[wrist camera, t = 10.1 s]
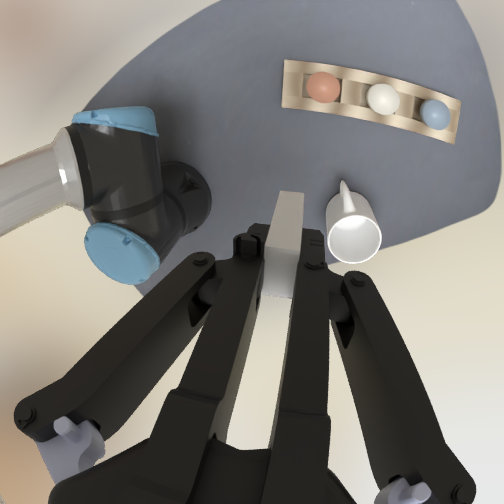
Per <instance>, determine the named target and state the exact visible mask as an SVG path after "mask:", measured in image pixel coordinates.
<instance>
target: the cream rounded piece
mask: <svg viewBox="0 0 504 504" xmlns="http://www.w3.org/2000/svg"><path fill="white" fill-rule="evenodd" d="M366 100H367V103H368V105H369V107H370V108H371V109H372V110H373V111H375V112H377V113H379V114H382V115H390V114H393V113H394V112H396V111H397V109H398V108H399V105H400V98H399V95H398V93H397V91H396V90H395V89H394V88H393V87H392V86H390V85H387V84H375V85H373V86H371V87H370V88H369V89H368V91H367V94H366Z"/></svg>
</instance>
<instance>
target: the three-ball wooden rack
mask: <svg viewBox="0 0 504 504" xmlns="http://www.w3.org/2000/svg"><path fill="white" fill-rule="evenodd" d="M317 72H327V73H330V74H332V75H333V76H335V77H336V79H337V80H338V82H339V84H340V93H339V96H338V97H337V98H336V99H335V100H334V101H332V102H330V103H319V102H317V101H315V100H313V99H312V98H311V97H310V96H309V94H308V92H307V88H306V85H307V81H308V79H309V77H310V76H311V75H313V74H314V73H317ZM375 84H387V85H390V86H392V87H393V88H394V89H395V90H396V91H397V93H398V95H399V98H400V105H399V108H398V109H397V111H396V112H394V113H393V114H390V115H382V114H379V113H377V112H375V111H373V110H372V109H371V108H370V107H369V105H368V103H367V100H366V94H367V91H368V89H369V88H370V87H371V86H373V85H375ZM428 99H434V100H439V101H442V102H443V103H444V104H446V106H447V107H448V109H449V111H450V115H451V119H450V123H449V125H448V126H447V127H446V128H445V129H443V130H435V129H433V128H430V127H428V126H427V125H425V124H424V122H423V121H422V119H421V116H420V107H421V105H422V103H423V102H424V101H426V100H428ZM460 106H461V101H458V100H456V99H454V98H451V97H449V96H446V95H443V94H441V93H438V92H435V91H433V90H430V89H427V88H424V87H421V86H418V85H415V84H412V83H408V82H405V81H401V80H398V79H394V78H391V77H387V76H383V75H379V74H375V73H370V72H366V71H361V70H356V69H351V68H346V67H340V66H334V65H327V64H320V63H313V62H304V61H294V60H285V61H284V78H283V94H282V107H284V108H294V109H303V110H311V111H318V112H325V113H331V114H338V115H343V116H349V117H354V118H359V119H364V120H369V121H374V122H378V123H382V124H387V125H391V126H395V127H399V128H402V129H406V130H410V131H413V132H417V133H420V134H423V135H427V136H430V137H433V138H436V139H439V140H442V141H445V142H448V143H451V144H454V142H455V137H456V131H457V126H458V120H459V113H460Z"/></svg>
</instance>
